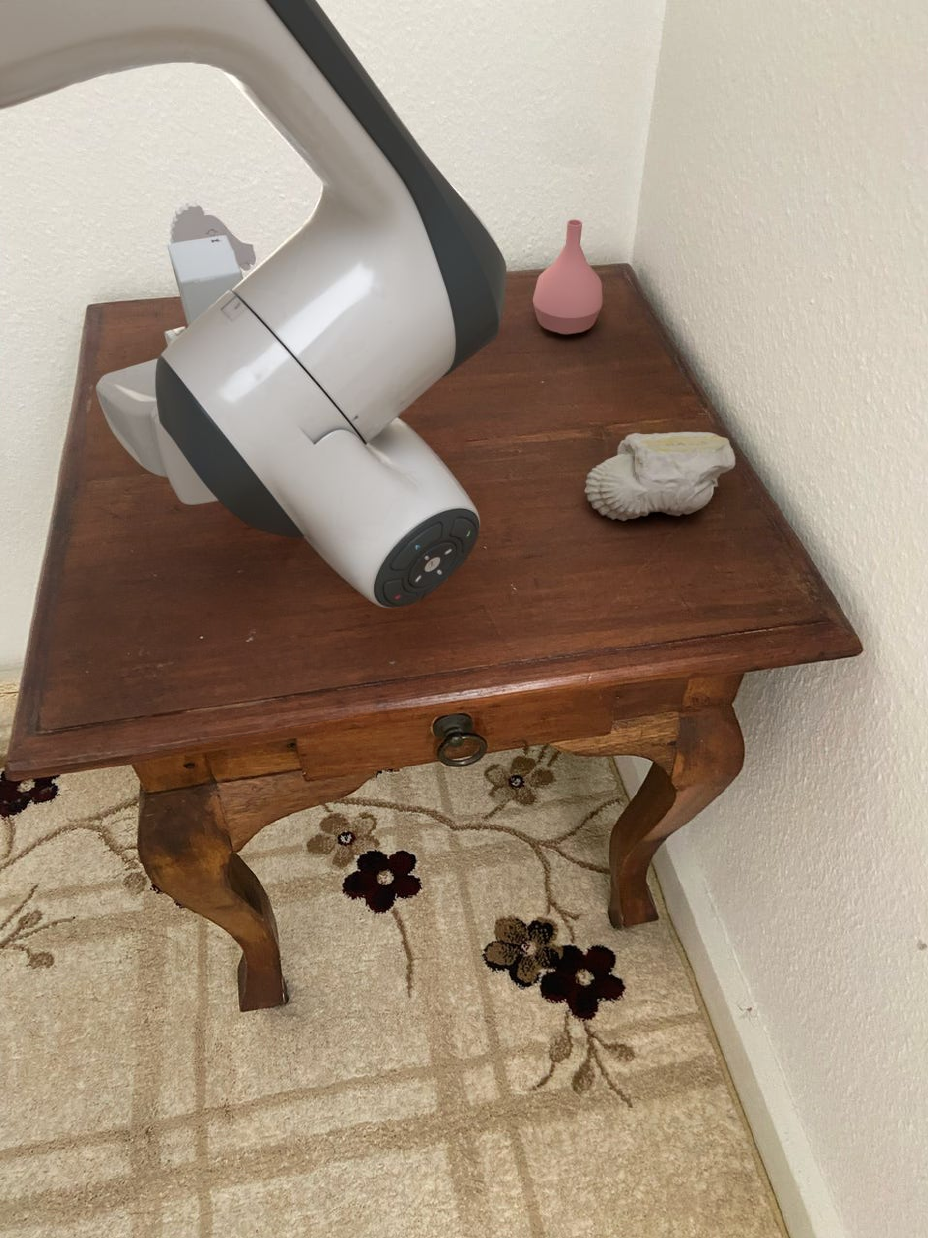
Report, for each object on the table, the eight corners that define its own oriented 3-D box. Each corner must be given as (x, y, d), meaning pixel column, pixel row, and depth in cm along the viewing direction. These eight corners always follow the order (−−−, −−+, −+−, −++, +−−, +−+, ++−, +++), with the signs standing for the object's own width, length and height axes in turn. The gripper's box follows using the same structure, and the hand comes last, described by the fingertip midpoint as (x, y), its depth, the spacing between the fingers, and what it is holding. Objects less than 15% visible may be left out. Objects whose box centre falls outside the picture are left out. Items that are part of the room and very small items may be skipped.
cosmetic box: (204, 393, 68) (165, 242, 60) (258, 382, 69) (227, 232, 61) (217, 436, 65) (177, 281, 56) (274, 424, 66) (244, 270, 57)
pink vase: (517, 330, 99) (522, 223, 90) (558, 305, 103) (567, 200, 94) (571, 354, 95) (582, 246, 86) (612, 328, 99) (627, 221, 90)
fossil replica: (562, 497, 79) (630, 569, 74) (569, 428, 72) (644, 501, 67) (666, 447, 83) (738, 512, 78) (682, 376, 76) (762, 442, 71)
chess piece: (286, 351, 96) (262, 212, 85) (197, 369, 93) (160, 229, 82) (265, 309, 102) (241, 175, 91) (181, 326, 100) (145, 190, 88)
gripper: (438, 325, 56) (339, 246, 64) (129, 429, 49) (59, 325, 57) (441, 409, 61) (348, 325, 69) (159, 515, 53) (91, 408, 61)
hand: (215, 326), depth 63 cm, fingers closed on cosmetic box, 5 cm apart
